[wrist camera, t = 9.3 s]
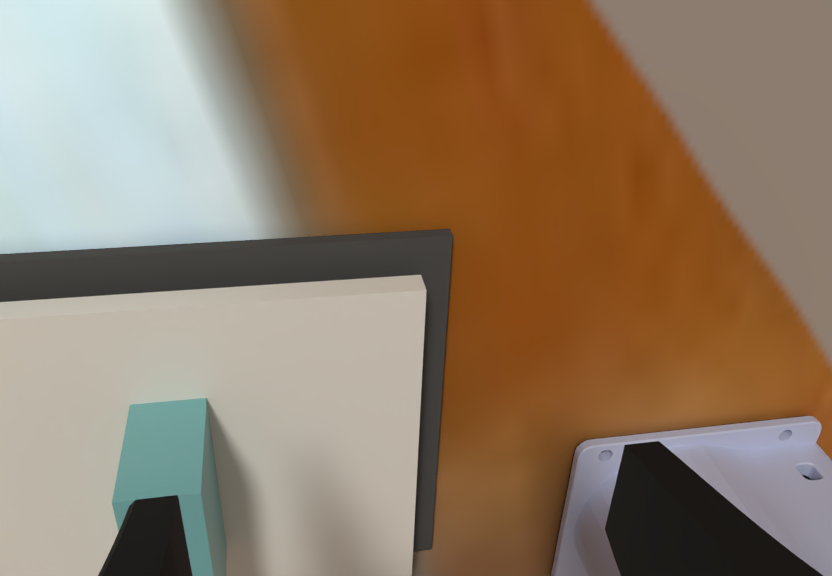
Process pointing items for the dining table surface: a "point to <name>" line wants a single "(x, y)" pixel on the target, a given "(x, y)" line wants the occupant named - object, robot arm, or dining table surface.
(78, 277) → the mat
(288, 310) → the lid
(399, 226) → the dining table surface
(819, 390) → the dining table surface
